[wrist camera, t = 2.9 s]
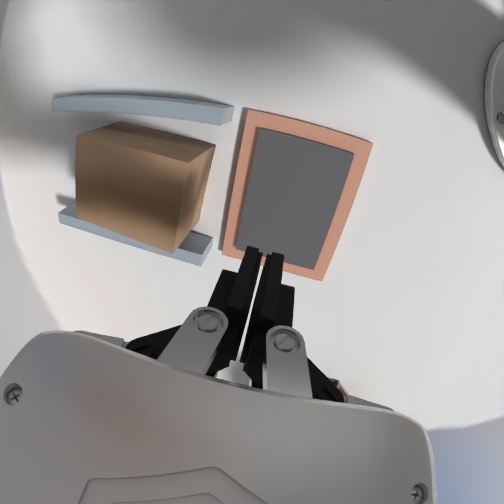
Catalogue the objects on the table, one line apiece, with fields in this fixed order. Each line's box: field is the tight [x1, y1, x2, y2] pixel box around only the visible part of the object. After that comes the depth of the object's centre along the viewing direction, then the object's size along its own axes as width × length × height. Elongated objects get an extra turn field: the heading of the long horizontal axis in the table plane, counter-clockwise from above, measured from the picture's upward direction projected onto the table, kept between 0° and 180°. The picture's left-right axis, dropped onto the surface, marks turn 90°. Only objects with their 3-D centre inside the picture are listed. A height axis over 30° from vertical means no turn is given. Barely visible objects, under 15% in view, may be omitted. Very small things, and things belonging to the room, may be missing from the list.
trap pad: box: [222, 109, 373, 281], centre depth 19 cm, size 11×8×1 cm
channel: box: [52, 95, 234, 266], centre depth 19 cm, size 11×14×2 cm
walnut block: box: [76, 122, 216, 254], centre depth 18 cm, size 6×8×5 cm
